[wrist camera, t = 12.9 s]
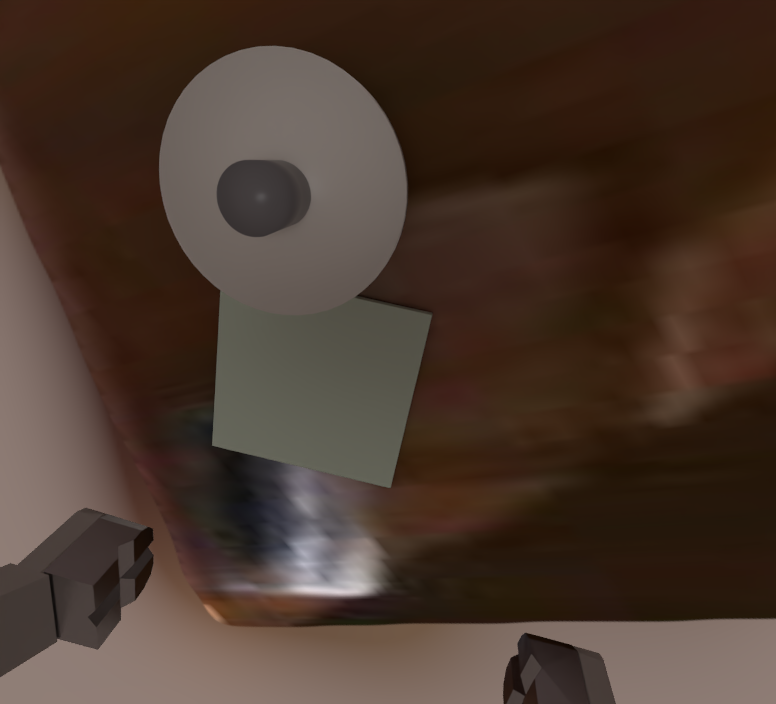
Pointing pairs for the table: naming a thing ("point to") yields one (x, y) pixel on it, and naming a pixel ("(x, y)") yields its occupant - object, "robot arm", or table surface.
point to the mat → (319, 385)
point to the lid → (283, 180)
